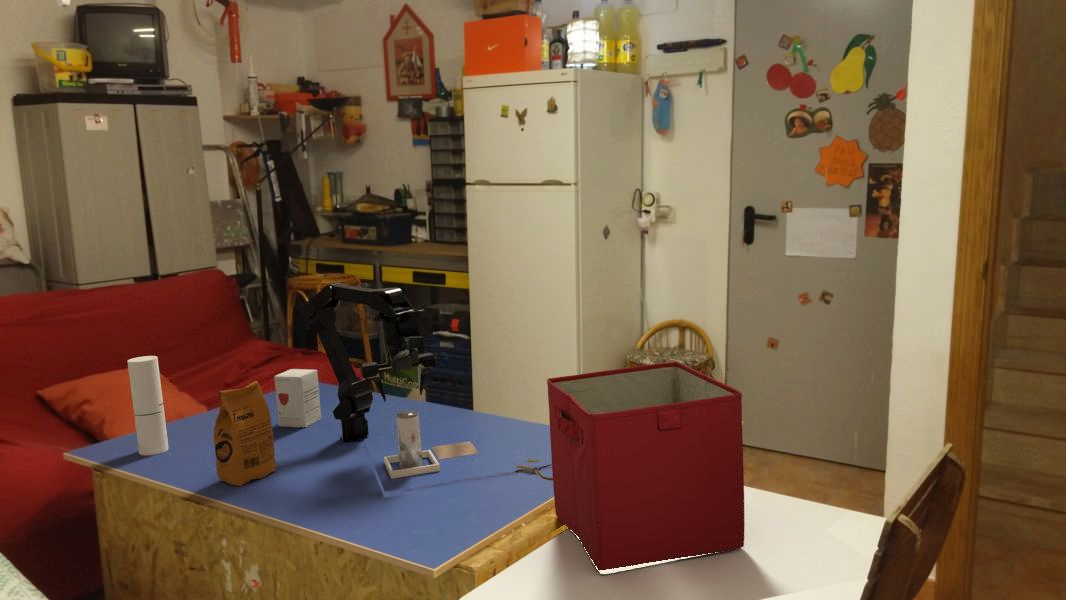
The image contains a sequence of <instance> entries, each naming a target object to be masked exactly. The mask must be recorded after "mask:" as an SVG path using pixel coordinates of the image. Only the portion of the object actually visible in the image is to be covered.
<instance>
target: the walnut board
mask: <svg viewBox="0 0 1066 600" xmlns="http://www.w3.org/2000/svg"><path fill="white" fill-rule="evenodd" d="M430 447H431V450H432V451H433V453H434V454H435V455H436V457H437V459H438V460H446V459H452V458H458V457H465V456H471V455H479V454H480V452H479V451H478V449H477V448H476V447H475V445H474V444H473V443H472V442H471V441H470V440H469V441H464V442H456V443H450V444H443V445H436V446H430Z"/></svg>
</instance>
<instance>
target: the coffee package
mask: <svg viewBox="0 0 1066 600" xmlns="http://www.w3.org/2000/svg"><path fill="white" fill-rule="evenodd" d="M218 397H220V400H221V402H220V405H219V409H218V414H217V417H216V419H215V423H214V427H213V443H214V455H215V465H216V476H217V477H218V480H220V481H221V482H225V483H226V484H230V485H232V486H239V487H240V486H242V485H244V484H247V483H249V482H251V481H252V480H261V479H262V478H265V477H267V476H268V475H270V474H271V473H273V472H276V470H277V468H276V467H277V463H276V455H275V444H274V442H275V441H274V433H273V427H272V425H273V424H272V418H271V413H270V412H271V411H270V408H269V405H268V403H267V400H266V398H265V396H264V392H263V391H262V387H261V386H260V384H259V381H258V380H255V381H253V382H251V383H249V384H247V386H244V387H243V388H236V389H235V388H234V389H226V390H219V391H218Z"/></svg>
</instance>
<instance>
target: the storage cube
mask: <svg viewBox="0 0 1066 600" xmlns="http://www.w3.org/2000/svg"><path fill="white" fill-rule="evenodd" d="M546 384H547V398H548V414H549V416H548V417H549V434H550V436H549V437H550V440H549V441H550V452H551V453H550V454H551V464H552V465H551V471H552V473H551V474H552V478H553V480H552V486H553V496H554V512H555V516H556V517H557V519H559V520H560V521H561V522H562V523H563V524H564V525H565V527H567V528H568V530H570V529H571V530H572V531H573V532H574V533H575V534H576V535H577V536H578V537H579V539H580V541H581V542H582V544H583V546H584V547H585V549H586V551H587V552H588V554H589V556H590V558H591V559H592V560H593V562H594V564H595V566H597V568H598V570H606V569H612V568H613V569H614V568H619V567H626V566H631V565H632V566H633V565H638V564H643V563H649V562H656V561H662V560H668V559H675V558H681V557H688V556H696V555H702V554H708V553H715V552H721V553H724V552H723V551H726V552H729V551H728V550H731V551H734V550H738V549H741V548H744V547H745V526H746V524H745V477H744V476H745V475H744V473H745V472H744V470H745V469H744V446H743V445H744V439H743V404H742V396H743V394H742V392H741V391H740V390H738V389H736V388H735V387H733V386H731V385H728V384H727V383H726V384H725V383H724V382H722V381H719V380H717V379H715V378H713V377H710V376H709V375H707V374H704V373H702V372H700V371H698V370H695V369H694V368H691V367H690V366H688V365H686V364H685V363H681V362H680V361H672V362H670V361H669V362H660V363H659V362H658V363H652V364H645V365H637V366H630V367H629V366H628V367H622V368H621V367H620V368H615V369H609V370H601V371H594V372H593V371H592V372H588V373H587V372H586V373H579V374H573V375H566V376H565V375H564V376H557V377H552V378H551V377H550V378H549V377H548V378H547V379H546ZM583 546H582V547H583ZM733 549H734V550H733Z"/></svg>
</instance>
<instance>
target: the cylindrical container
mask: <svg viewBox="0 0 1066 600" xmlns="http://www.w3.org/2000/svg"><path fill="white" fill-rule="evenodd" d="M127 369H128V376H129V383H130V384H129V385H130V391H131V393H130V394H131V399H132V407H133V416H134V421H135V422H134V425H135V431H136V438H137V439H136V440H137V447H138V453H139V455H140V456H155V455H159V454H162V453H163V454H164V453H165V452H167V451H168V450H169V449H170V448H169V439H168V434H167V425H166V424H167V423H166V416H165V407H164V401H163V400H164V399H163V398H164V397H163V392H162V391H163V390H162V385H161V383H162V382H161V375H160V374H161V373H160V367H159V357H158V356H156V355H146V356H145V355H143V356H137V357H133V358H130V359H127Z"/></svg>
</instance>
